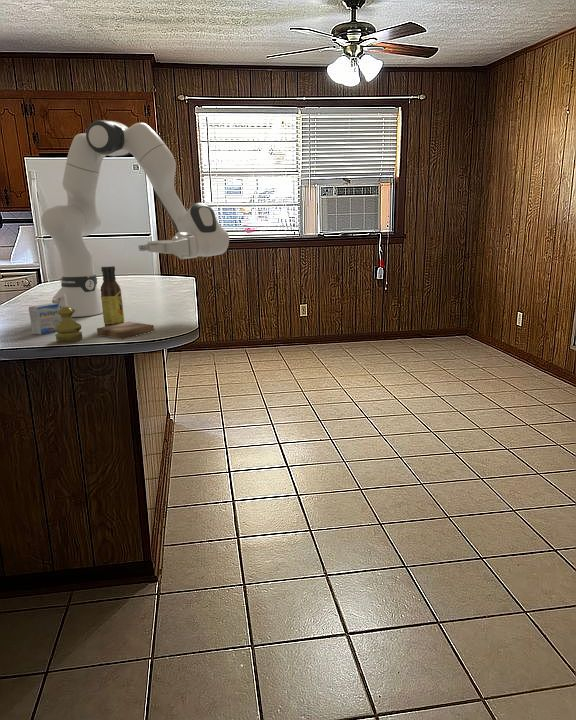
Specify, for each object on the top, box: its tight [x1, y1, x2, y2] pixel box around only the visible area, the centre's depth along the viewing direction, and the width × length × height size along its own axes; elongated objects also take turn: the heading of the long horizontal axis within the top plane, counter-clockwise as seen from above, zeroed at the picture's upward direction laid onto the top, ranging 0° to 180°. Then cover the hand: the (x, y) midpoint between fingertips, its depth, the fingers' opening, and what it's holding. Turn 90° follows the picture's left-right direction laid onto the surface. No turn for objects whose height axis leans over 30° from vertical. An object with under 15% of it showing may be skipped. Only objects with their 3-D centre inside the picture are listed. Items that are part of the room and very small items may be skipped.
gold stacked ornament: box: [54, 307, 84, 344], centre depth 164 cm, size 7×7×10 cm
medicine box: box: [28, 302, 62, 336], centre depth 178 cm, size 8×4×9 cm, turn 148°
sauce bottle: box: [100, 265, 125, 327], centre depth 179 cm, size 6×6×20 cm
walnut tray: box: [96, 321, 155, 340], centre depth 173 cm, size 12×12×2 cm
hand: (144, 248), depth 181 cm, fingers open, 8 cm apart
